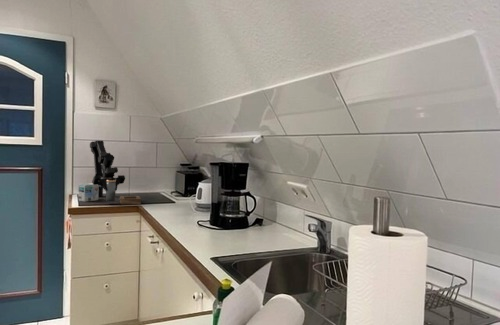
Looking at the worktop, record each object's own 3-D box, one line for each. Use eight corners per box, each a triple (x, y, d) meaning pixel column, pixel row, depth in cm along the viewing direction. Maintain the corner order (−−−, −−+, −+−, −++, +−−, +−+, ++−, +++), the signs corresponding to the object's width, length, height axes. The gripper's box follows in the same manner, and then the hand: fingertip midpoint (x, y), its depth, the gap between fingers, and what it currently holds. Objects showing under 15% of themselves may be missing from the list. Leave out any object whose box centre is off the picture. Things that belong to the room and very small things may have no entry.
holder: (119, 201, 250) (119, 196, 250) (138, 200, 254) (139, 195, 254) (120, 204, 239) (120, 199, 239) (140, 203, 243) (140, 198, 243)
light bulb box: (84, 201, 242) (84, 185, 242) (77, 200, 246) (78, 183, 245) (98, 199, 251) (99, 183, 251) (92, 198, 255) (92, 182, 254)
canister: (105, 199, 240) (105, 179, 239) (115, 199, 242) (115, 179, 241) (105, 201, 235) (106, 180, 234) (115, 201, 237) (116, 180, 236)
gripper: (94, 162, 235) (97, 182, 226) (124, 162, 245) (129, 182, 237) (91, 174, 242) (94, 194, 234) (121, 173, 252) (125, 192, 244)
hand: (111, 190), depth 237 cm, fingers closed on canister, 6 cm apart
